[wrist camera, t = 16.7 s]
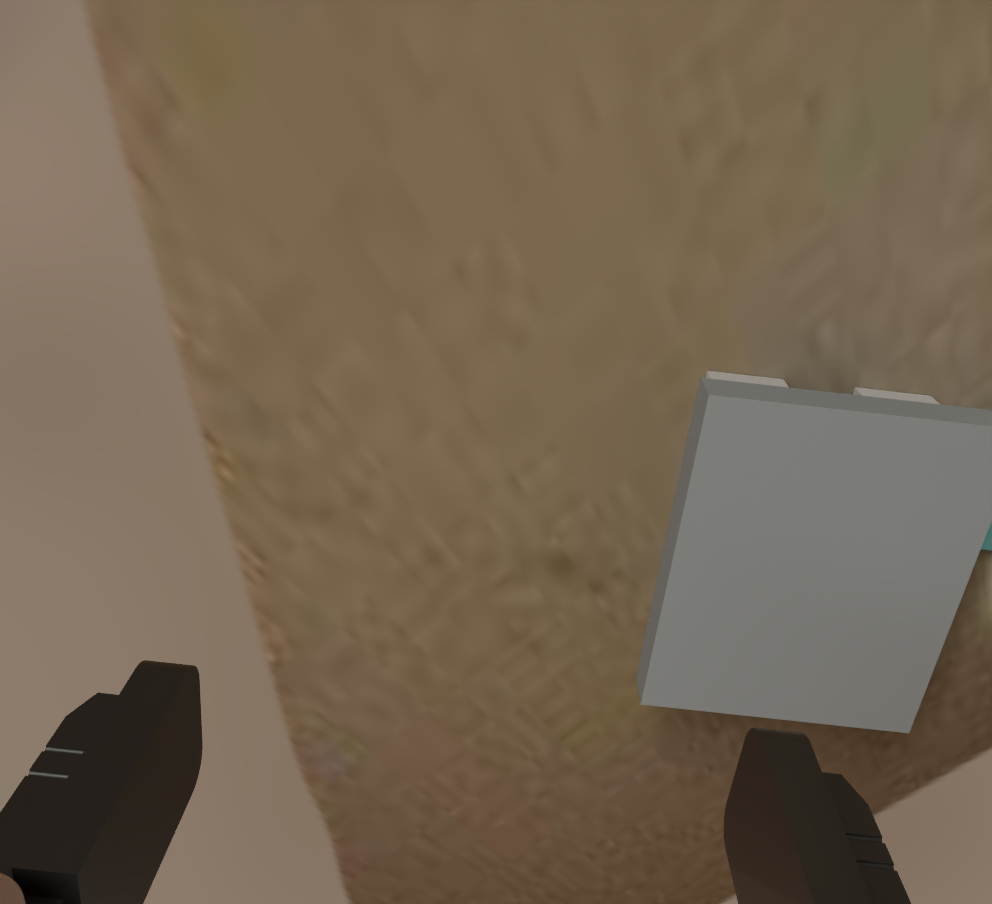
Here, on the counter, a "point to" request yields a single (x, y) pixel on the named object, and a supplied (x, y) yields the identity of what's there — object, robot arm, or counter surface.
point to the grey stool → (815, 552)
